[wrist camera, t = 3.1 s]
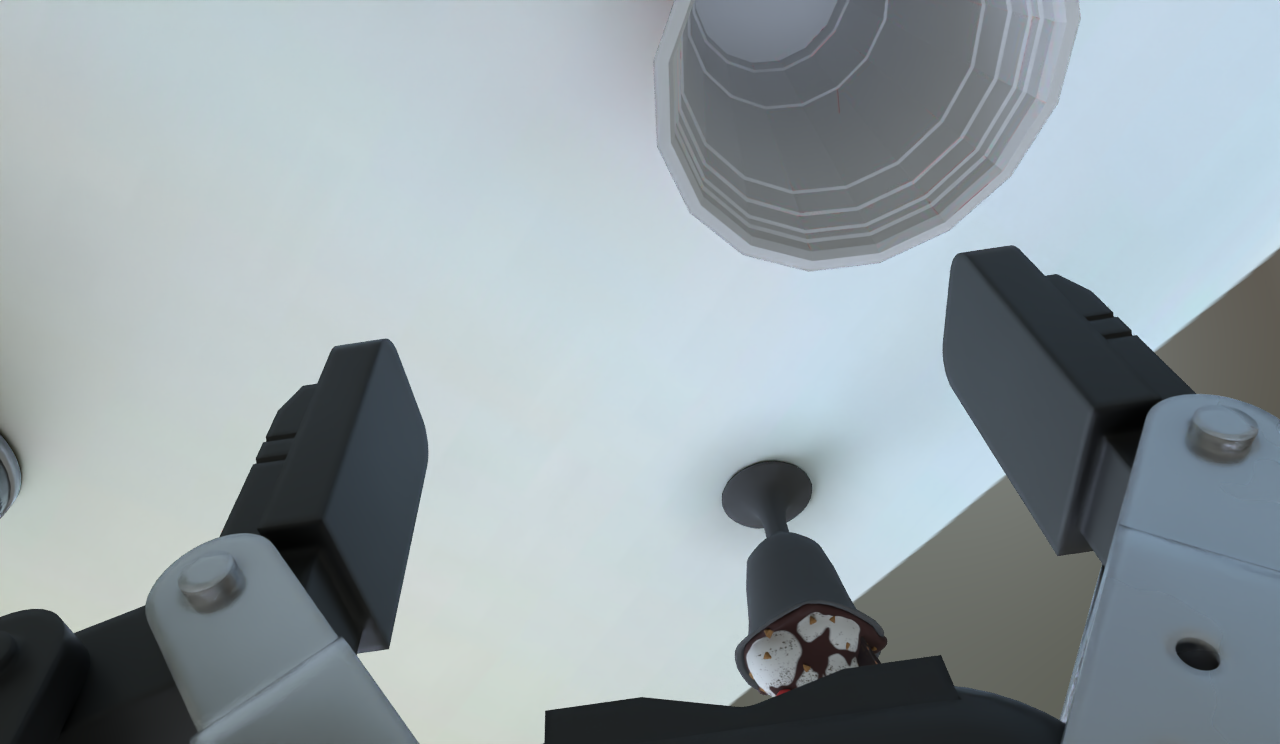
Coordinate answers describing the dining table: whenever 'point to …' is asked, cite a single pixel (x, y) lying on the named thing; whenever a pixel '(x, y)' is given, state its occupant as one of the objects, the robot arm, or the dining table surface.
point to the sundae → (792, 590)
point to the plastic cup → (851, 116)
